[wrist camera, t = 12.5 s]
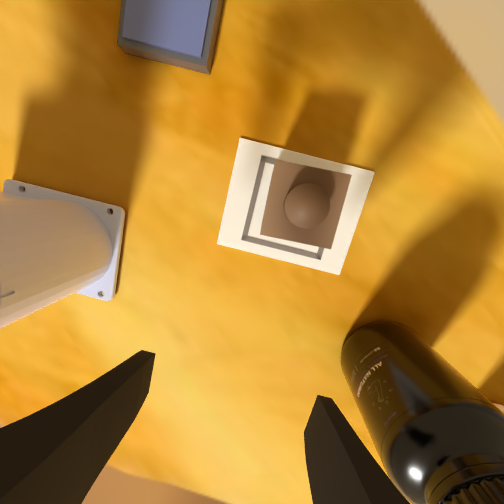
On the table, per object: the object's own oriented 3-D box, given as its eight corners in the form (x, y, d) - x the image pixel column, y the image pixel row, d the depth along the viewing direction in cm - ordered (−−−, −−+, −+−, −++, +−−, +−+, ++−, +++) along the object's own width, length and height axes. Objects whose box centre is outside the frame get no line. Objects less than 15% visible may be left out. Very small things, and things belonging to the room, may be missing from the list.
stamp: (261, 225, 18) (259, 237, 12) (272, 171, 17) (276, 155, 11) (312, 235, 18) (336, 253, 12) (326, 182, 17) (359, 172, 11)
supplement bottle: (333, 324, 20) (430, 501, 8) (418, 312, 19) (655, 485, 8) (342, 394, 21) (437, 630, 10) (422, 384, 21) (628, 626, 9)
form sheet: (217, 243, 19) (216, 244, 19) (240, 138, 17) (239, 137, 17) (338, 274, 19) (339, 275, 19) (374, 172, 17) (375, 171, 17)
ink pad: (125, 53, 16) (115, 42, 15) (137, -53, 15) (127, -74, 14) (209, 74, 16) (205, 64, 15) (228, -30, 15) (225, -49, 14)
